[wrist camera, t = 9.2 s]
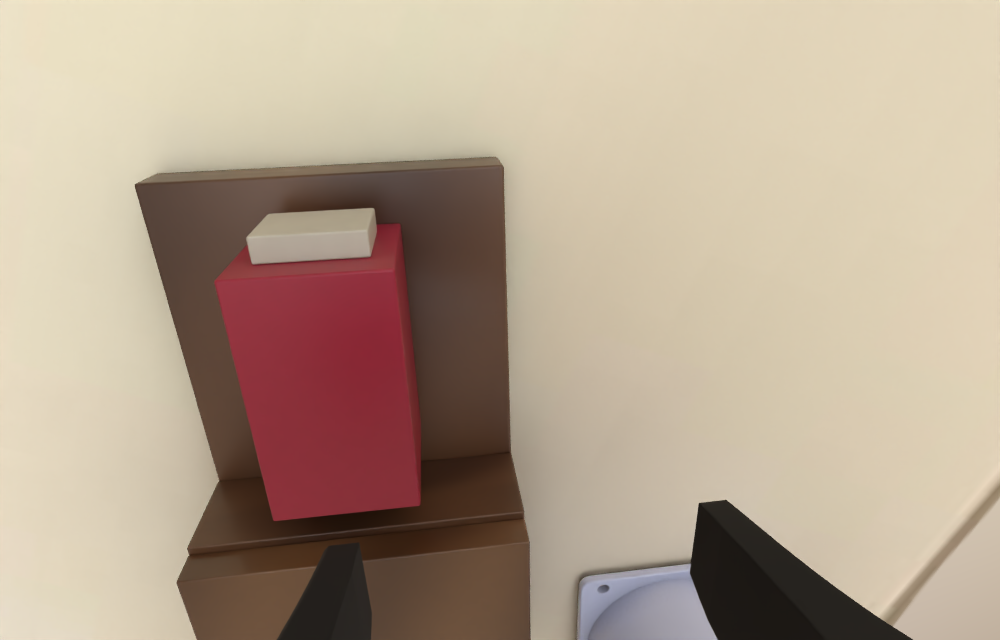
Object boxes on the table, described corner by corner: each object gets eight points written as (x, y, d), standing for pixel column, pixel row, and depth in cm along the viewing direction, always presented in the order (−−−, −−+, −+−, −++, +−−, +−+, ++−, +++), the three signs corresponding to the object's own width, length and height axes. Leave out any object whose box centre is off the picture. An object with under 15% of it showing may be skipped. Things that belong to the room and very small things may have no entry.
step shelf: (497, 156, 18) (526, 196, 13) (511, 628, 27) (532, 759, 22) (155, 173, 17) (46, 223, 12) (286, 656, 26) (253, 800, 21)
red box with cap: (398, 198, 17) (391, 239, 13) (422, 441, 20) (422, 525, 17) (252, 206, 16) (205, 250, 13) (303, 452, 20) (277, 541, 16)
